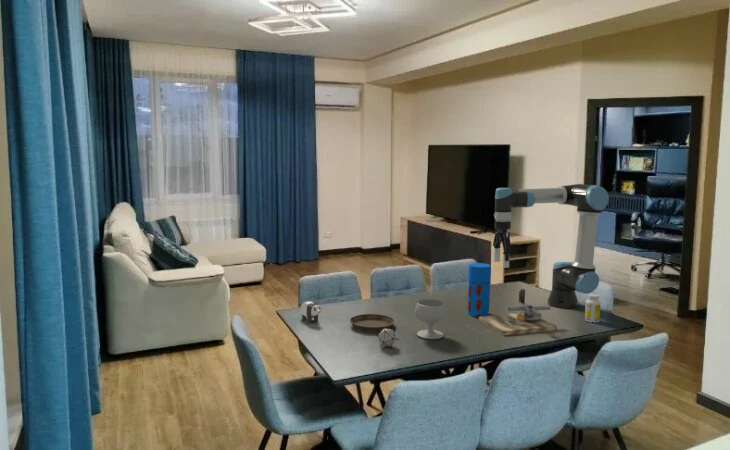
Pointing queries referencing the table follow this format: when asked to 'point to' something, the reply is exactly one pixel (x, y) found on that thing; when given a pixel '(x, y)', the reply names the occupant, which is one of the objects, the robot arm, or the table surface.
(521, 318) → the ball
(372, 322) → the plant saucer
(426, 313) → the chalice
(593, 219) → the robot arm
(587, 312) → the supplement bottle
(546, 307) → the grey cross
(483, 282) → the thermos
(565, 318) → the table surface
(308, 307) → the giant panda
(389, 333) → the game die
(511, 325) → the stand base
